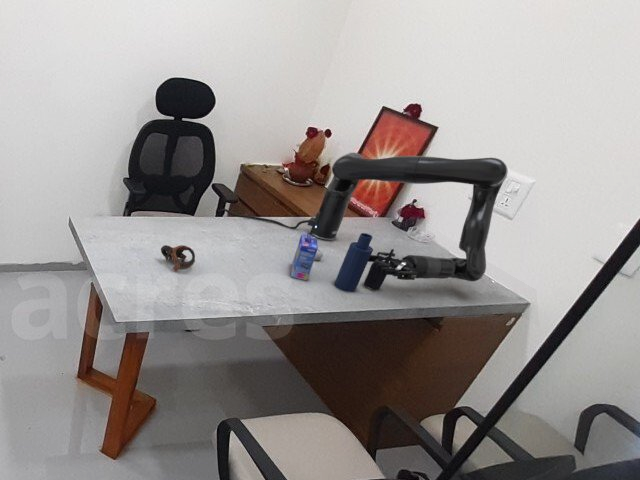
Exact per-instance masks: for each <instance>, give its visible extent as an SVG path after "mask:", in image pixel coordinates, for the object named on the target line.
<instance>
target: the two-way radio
mask: <svg viewBox="0 0 640 480" xmlns="http://www.w3.org/2000/svg"><path fill="white" fill-rule="evenodd" d="M394 251H395V249H394V248H391V250H390V251H389V252H388V253H389V255H388V257H387V259H386V261H385V260H382V258H383V257H382V256H380V257H379V258H378V259H376V260H375V261H374V262H371V265H370V267H369V270H368V272H367V275H366V277H365V280H364V282H363V285H364V287H366V288H368V289H370V290H373V291H379V290H380V289H381V287H382V286H383V284H384V282H385V279H386V277H387V276H388V275H382V274H381V273H380V272H381V270H382V268H391V267H390V263H389V262H390V259H391V256H392V254H393V253H394Z"/></svg>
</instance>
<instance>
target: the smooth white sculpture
mask: <svg viewBox="0 0 640 480" xmlns="http://www.w3.org/2000/svg"><path fill="white" fill-rule="evenodd" d="M323 256H324V253H323V252H322V251H321V250H320V249H319V248H318V250H317V253H316V256H315V259H314V261H319V260H321V259H322V258H323Z"/></svg>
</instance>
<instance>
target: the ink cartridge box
mask: <svg viewBox="0 0 640 480" xmlns="http://www.w3.org/2000/svg"><path fill="white" fill-rule="evenodd" d="M318 249H319V246H318V238H317V237H314V236H313V235H310V234H309V232H308V231H307V232H306V234H301V235H300V237H299V241H298V245H297V247H296V250H295V253H294V256H293V259H292V263H291V269H290V271H291V272H290V273H291V278H294V279H298V280H303V281H308V280H309V276H310V273H311V270H312V267H313V264H314V261H315V256H316V253H317V250H318Z"/></svg>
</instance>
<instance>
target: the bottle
mask: <svg viewBox="0 0 640 480" xmlns="http://www.w3.org/2000/svg"><path fill="white" fill-rule="evenodd" d="M373 238H374V237H373V235H371V234H369V233H366V232H361V233H360V234H359V237H358V239H357V241H353V242H350V244H349V246H348V249H347V252H346V254H345V256H344V258H343V261H342V263H341V265H340V268H339V271H338V273H337V275H336V278H335V280H334V286H335V287H336V288H337V289H338V290H340V291H343V292H346V293H354V292H355V291H356V290H357V287H358V285H359V283H360V281H361V279H362V276H363V274H364V271H365V269H366V268H367V265H368V263H369V262H368V261H369V258H370V256H371V255H373V252H374V248H373V247H372V246H371V245H370V244H371V243H372V240H373Z"/></svg>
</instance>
